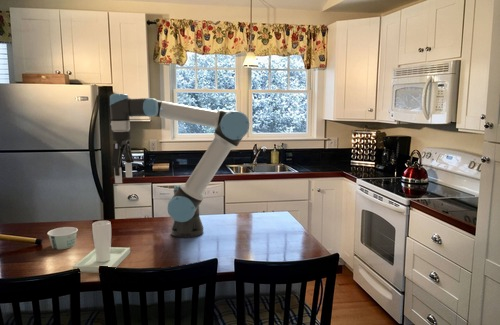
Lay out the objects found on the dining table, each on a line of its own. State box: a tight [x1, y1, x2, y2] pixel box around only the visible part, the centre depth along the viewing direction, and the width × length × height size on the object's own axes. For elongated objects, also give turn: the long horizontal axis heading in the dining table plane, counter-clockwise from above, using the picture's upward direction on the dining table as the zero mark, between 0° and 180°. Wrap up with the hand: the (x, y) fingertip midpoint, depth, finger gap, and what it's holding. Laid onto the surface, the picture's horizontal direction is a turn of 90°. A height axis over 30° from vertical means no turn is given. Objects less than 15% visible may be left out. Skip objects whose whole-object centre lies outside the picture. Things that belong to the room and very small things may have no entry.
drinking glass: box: [91, 220, 112, 262], centre depth 154 cm, size 7×7×15 cm
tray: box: [72, 246, 131, 274], centre depth 154 cm, size 14×20×2 cm
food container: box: [47, 226, 79, 250], centre depth 172 cm, size 12×12×6 cm
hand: (124, 180), depth 172 cm, fingers open, 13 cm apart
